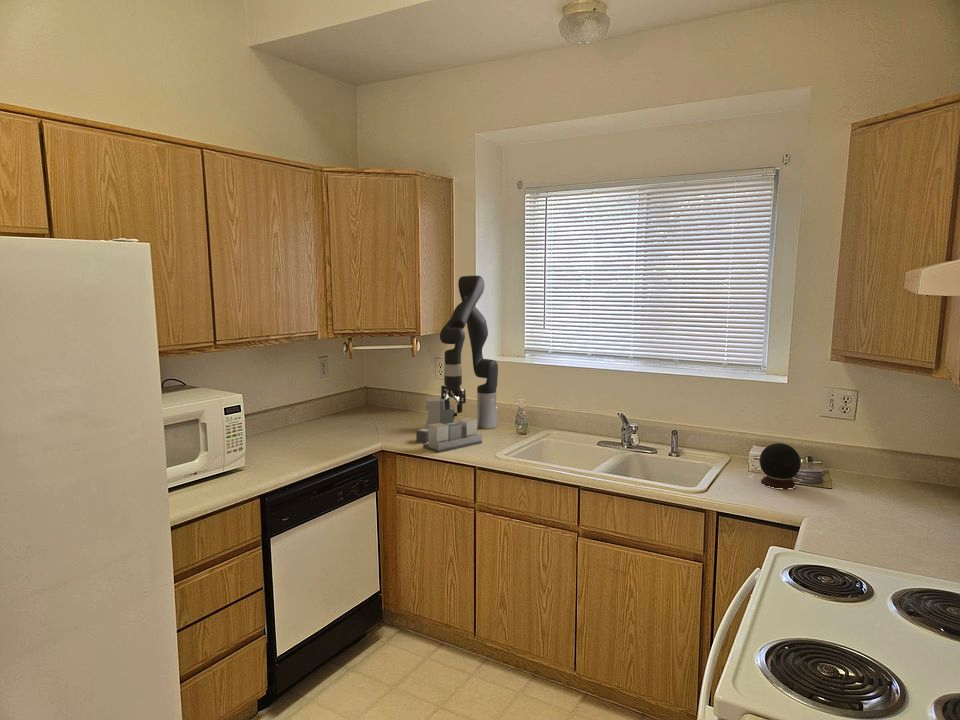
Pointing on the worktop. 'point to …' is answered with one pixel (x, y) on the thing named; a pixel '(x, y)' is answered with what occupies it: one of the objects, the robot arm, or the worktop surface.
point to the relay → (422, 435)
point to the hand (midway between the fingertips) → (453, 411)
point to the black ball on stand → (779, 465)
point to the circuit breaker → (439, 412)
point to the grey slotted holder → (441, 444)
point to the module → (454, 431)
